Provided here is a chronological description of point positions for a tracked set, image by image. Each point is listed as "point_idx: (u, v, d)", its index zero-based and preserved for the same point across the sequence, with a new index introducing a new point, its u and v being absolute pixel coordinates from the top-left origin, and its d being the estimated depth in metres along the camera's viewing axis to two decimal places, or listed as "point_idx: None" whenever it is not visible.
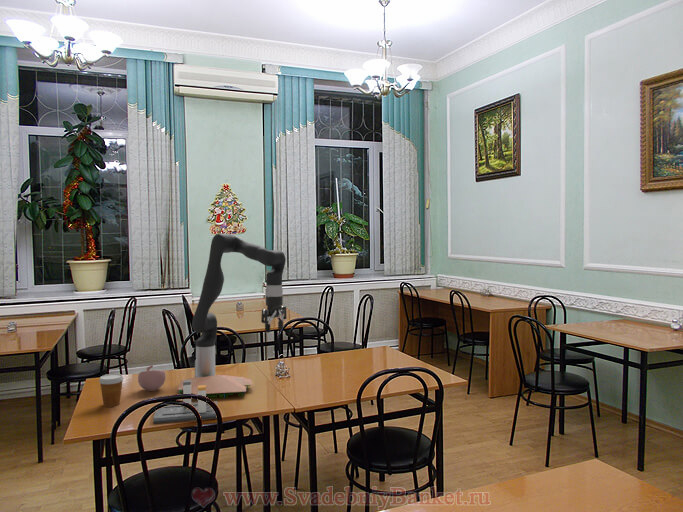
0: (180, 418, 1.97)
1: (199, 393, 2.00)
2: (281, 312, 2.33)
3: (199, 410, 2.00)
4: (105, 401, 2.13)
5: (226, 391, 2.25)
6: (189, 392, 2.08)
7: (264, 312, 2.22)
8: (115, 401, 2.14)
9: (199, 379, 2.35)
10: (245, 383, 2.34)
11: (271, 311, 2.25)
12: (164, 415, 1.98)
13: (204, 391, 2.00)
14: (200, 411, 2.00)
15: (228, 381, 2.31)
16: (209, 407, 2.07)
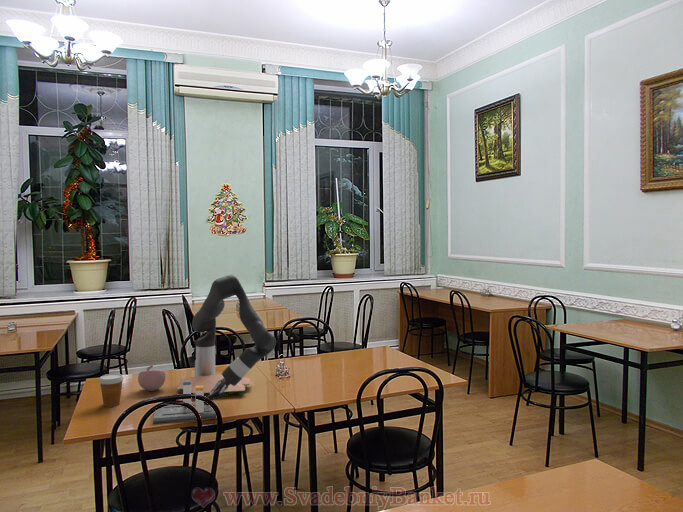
0: (180, 418, 1.97)
1: (197, 393, 1.99)
2: None
3: (197, 410, 2.00)
4: (105, 401, 2.13)
5: None
6: (189, 392, 2.08)
7: None
8: (115, 401, 2.14)
9: (198, 378, 2.37)
10: (244, 382, 2.36)
11: None
12: (164, 415, 1.98)
13: (202, 391, 2.00)
14: (198, 411, 2.00)
15: None
16: (209, 407, 2.07)
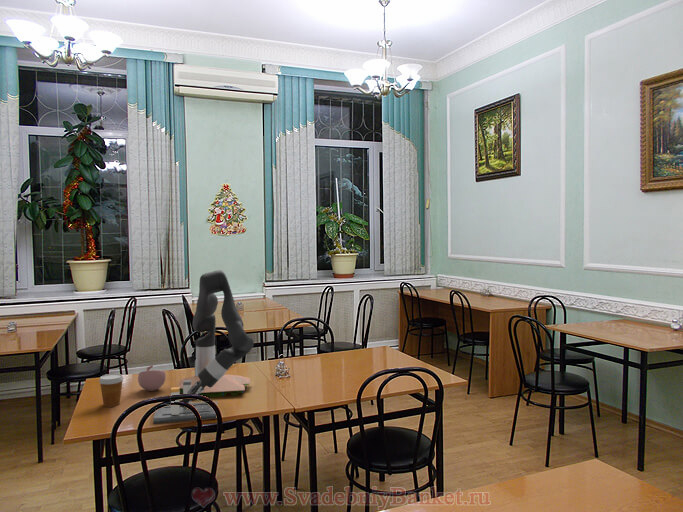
0: (180, 418, 1.97)
1: None
2: None
3: (172, 412, 1.97)
4: (105, 401, 2.13)
5: (225, 390, 2.27)
6: None
7: None
8: (115, 401, 2.14)
9: (198, 378, 2.37)
10: (244, 382, 2.36)
11: None
12: (164, 415, 1.98)
13: (177, 393, 1.98)
14: (173, 413, 1.98)
15: (227, 380, 2.33)
16: (209, 407, 2.07)
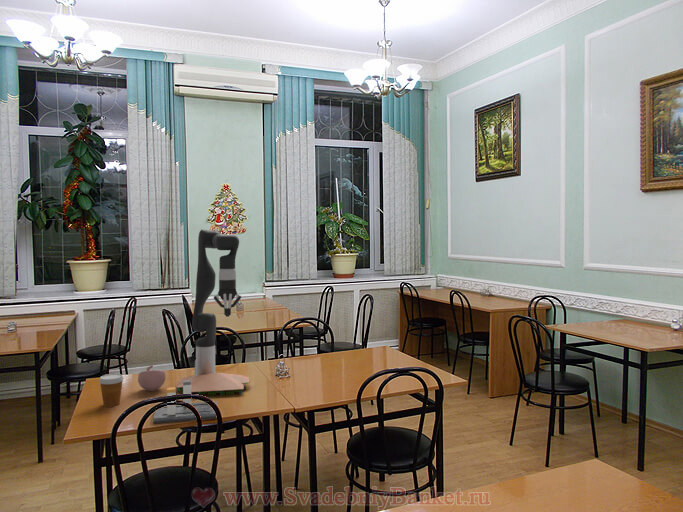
0: (180, 418, 1.97)
1: (168, 395, 1.97)
2: None
3: (168, 412, 1.97)
4: (105, 401, 2.13)
5: (224, 389, 2.28)
6: (189, 392, 2.08)
7: None
8: (115, 401, 2.14)
9: (197, 377, 2.39)
10: (243, 381, 2.38)
11: None
12: (164, 415, 1.98)
13: (173, 393, 1.97)
14: (169, 413, 1.97)
15: (226, 379, 2.34)
16: (209, 407, 2.07)
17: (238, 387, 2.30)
